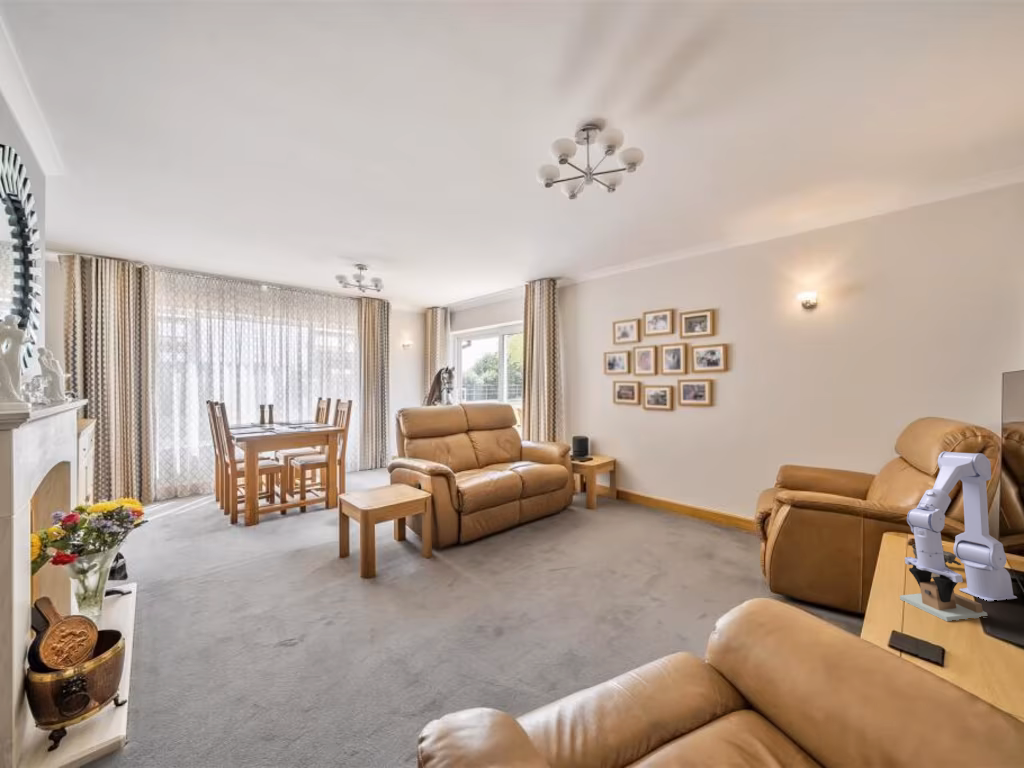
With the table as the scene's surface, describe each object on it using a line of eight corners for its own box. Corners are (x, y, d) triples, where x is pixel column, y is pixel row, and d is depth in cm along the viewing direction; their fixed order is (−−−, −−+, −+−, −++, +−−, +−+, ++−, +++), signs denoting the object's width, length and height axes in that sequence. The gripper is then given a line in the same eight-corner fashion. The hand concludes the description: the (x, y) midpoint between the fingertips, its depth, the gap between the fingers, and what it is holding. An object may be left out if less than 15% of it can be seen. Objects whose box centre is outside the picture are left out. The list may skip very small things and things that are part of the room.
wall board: (936, 595, 130) (935, 584, 130) (987, 617, 116) (985, 604, 117) (900, 599, 129) (898, 588, 130) (947, 621, 116) (945, 609, 116)
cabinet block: (939, 601, 124) (936, 580, 125) (956, 608, 120) (953, 586, 120) (920, 603, 124) (917, 582, 124) (937, 610, 120) (934, 589, 120)
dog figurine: (914, 566, 151) (911, 545, 152) (915, 561, 155) (911, 541, 156) (962, 573, 143) (959, 551, 143) (961, 568, 147) (958, 546, 147)
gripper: (893, 544, 130) (899, 588, 129) (942, 560, 116) (949, 610, 115) (914, 542, 130) (920, 586, 130) (966, 558, 116) (974, 608, 115)
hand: (935, 597), depth 122 cm, fingers open, 5 cm apart
